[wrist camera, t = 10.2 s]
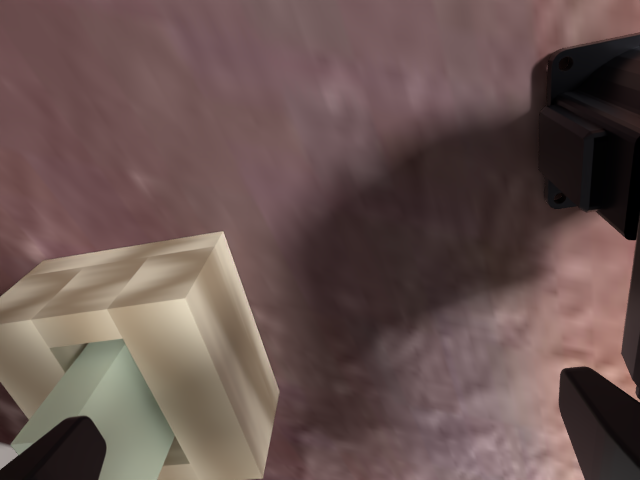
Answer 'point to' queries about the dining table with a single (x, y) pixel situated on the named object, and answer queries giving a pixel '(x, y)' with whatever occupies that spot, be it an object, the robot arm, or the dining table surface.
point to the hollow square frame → (153, 345)
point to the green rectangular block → (108, 412)
